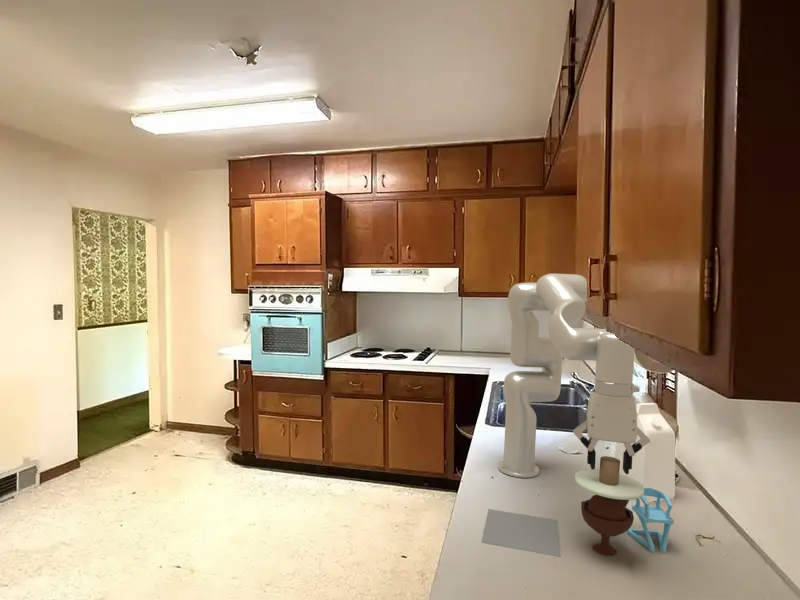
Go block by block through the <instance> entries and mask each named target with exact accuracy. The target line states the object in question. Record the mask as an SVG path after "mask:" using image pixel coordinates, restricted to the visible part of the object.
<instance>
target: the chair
mask: <svg viewBox="0 0 800 600" xmlns="http://www.w3.org/2000/svg"><path fill="white" fill-rule="evenodd" d="M645 496H653V497H656V498H657V502H655V506H650V503H648V501H647V499H646V497H645ZM661 498H663V499H664V500H665V503H666V505H667V509H666V511H664V510H663V509H662V508H661V501H660V499H661ZM640 499H641V500H642V502H643V503H644V504H643V505H641V503H640V500H639V498H638V499H636V500H635V502H636V503H635V504H634V505H631V510H633V513H635V515H637V518H638V519H639V521H640V524H641V527H642V528H643V529H634V528H632V529H631V528H630V529H629V530H627V531H626V534H627V535H628V536H630V537H631V538H633V539H634V540H635V541H637V542H638V543H640V545H642V546H644V547H645V548H646V549H648V550H649V551H650V552H651V553H655V551H656V548H655V544H654V541H653V538H652V537H651V536H657V540H658V545H659V549H660V551H661V552H662V553H665V554H666V553H667V546H668V540H669V535H670V531H671V527H672V525H674V521H675V520H674V519H673V518H672V517H671V516H670V515H671V510H672V508H673V504H672V502H671V501H672V500H670V499H669V497H668V496H667V495H666V494H664V493H662V492H660V491H658V490H655V489H653V488H644V494H643V496H642V497H640ZM651 523H653V524H654V523H661V524H663V527H664V528H663V532H661V531H659V530H652V529H651V530H650V529H649V528H648V525H647V524H651ZM662 533H663V534H662ZM640 535H645V537H646V539H644V538H643V537H642V536H640Z"/></svg>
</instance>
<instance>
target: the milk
mask: <svg viewBox="0 0 800 600" xmlns="http://www.w3.org/2000/svg"><path fill="white" fill-rule="evenodd" d="M636 410H637V426H638V428H639V429H640V430H641V431H642V432H643V433H644V434H645V435H646V436H647V437H648V438H649V439H650V442H649V443H648V444H646V445H645V446H643V447H642V449H640V450H639V451H638V452H636V453H635V455H634V456H632V469H629V474H626V473H624V470H623V453H624V451H625V450H626V448H625V445H624V443H619V442H615V450H614V457H613V458H616V459H618V460H620V471H619V474H622V475H625V476H628V477H630V478H633V479H634V480H636V481H638V482H639V483H640V484H641V485H642V486H643V487H644V488H653V489H655V490H658V491H660V492H662V493H664V494H666V495H667V496H668V497H673V496H675V497H676V435H675V431H674V430H673V429H672V427H671V426H670V424H669V423H668V422H667V421H666V419H665V417H664V416H663V415H662V414H661V413H660V409H659V406H658V403H655V402H645V403H644V402H642V403H636ZM639 440H640V437H639V436H638V435H637V439H636V441H635V442H638V441H639ZM635 442H634V443H635ZM634 443H631V445H633V444H634ZM645 497H646V499H647V501H648V502H651V503H653V502H652V501H656V500H657V498H656V497H653V496H645ZM661 499H663V498H661ZM633 500H634V501H636V499H633ZM639 500H640V505H641V504H642V503H643V502H642V500H641V499H640V498H639ZM642 505H643V504H642Z"/></svg>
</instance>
